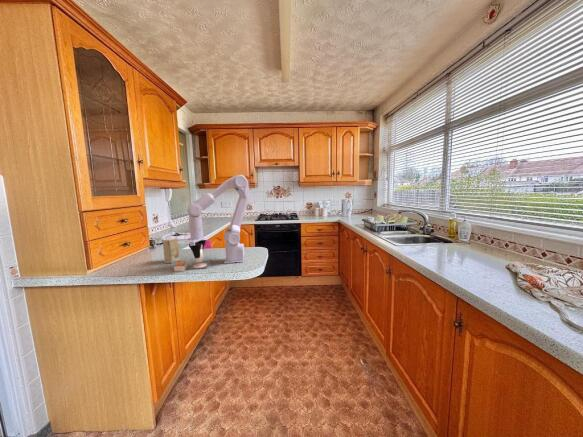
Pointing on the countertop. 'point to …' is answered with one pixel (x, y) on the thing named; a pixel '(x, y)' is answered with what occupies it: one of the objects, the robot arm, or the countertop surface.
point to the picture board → (199, 265)
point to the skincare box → (171, 250)
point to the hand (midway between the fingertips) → (198, 256)
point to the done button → (180, 263)
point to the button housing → (180, 267)
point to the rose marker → (200, 256)
